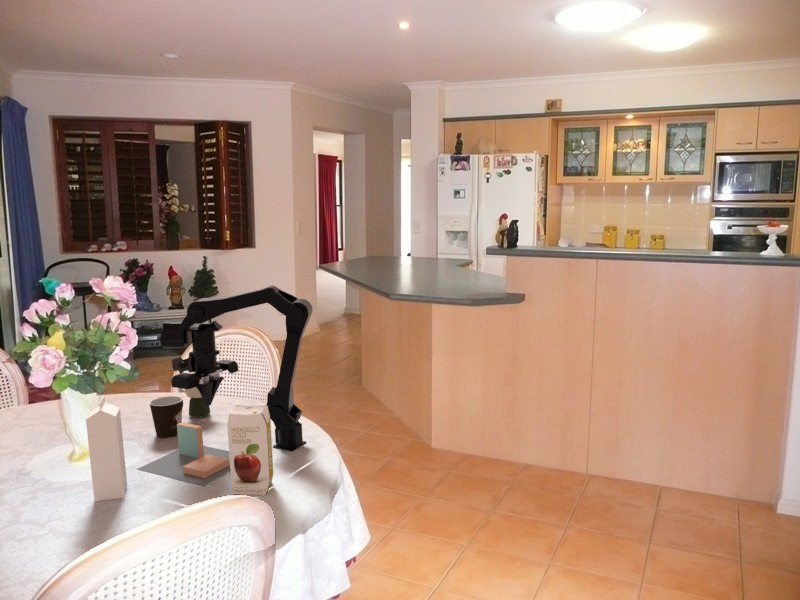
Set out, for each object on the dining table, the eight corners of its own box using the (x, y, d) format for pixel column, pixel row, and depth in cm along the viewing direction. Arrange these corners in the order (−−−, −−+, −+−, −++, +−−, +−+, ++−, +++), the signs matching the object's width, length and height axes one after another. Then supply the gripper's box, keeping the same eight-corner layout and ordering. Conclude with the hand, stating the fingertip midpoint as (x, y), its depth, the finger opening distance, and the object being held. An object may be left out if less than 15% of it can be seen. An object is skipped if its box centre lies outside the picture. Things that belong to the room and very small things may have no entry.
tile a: (228, 459, 151) (204, 471, 144) (229, 465, 152) (205, 478, 145) (207, 454, 154) (182, 466, 147) (207, 460, 155) (183, 473, 148)
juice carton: (239, 482, 143) (234, 403, 140) (276, 482, 143) (271, 403, 140) (229, 498, 136) (223, 415, 133) (268, 497, 135) (263, 414, 132)
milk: (94, 502, 135) (83, 405, 132) (99, 490, 141) (88, 397, 137) (124, 498, 137) (114, 402, 133) (128, 486, 143) (118, 393, 139)
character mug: (218, 410, 194) (215, 370, 192) (218, 417, 187) (215, 376, 185) (181, 414, 191) (178, 373, 189) (180, 421, 184) (176, 379, 182)
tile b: (203, 456, 158) (201, 426, 156) (198, 458, 156) (196, 428, 155) (183, 451, 161) (181, 422, 160) (178, 454, 159) (176, 424, 158)
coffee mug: (163, 443, 168) (160, 408, 166) (146, 436, 173) (143, 402, 171) (200, 430, 177) (198, 396, 175) (182, 424, 182) (180, 391, 181)
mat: (256, 458, 157) (256, 456, 157) (203, 487, 141) (203, 486, 141) (191, 444, 167) (191, 443, 166) (136, 470, 151) (136, 469, 151)
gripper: (206, 337, 172) (210, 391, 175) (153, 352, 156) (158, 412, 158) (237, 340, 167) (241, 396, 170) (185, 356, 151) (190, 418, 153)
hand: (208, 405), depth 163 cm, fingers closed
